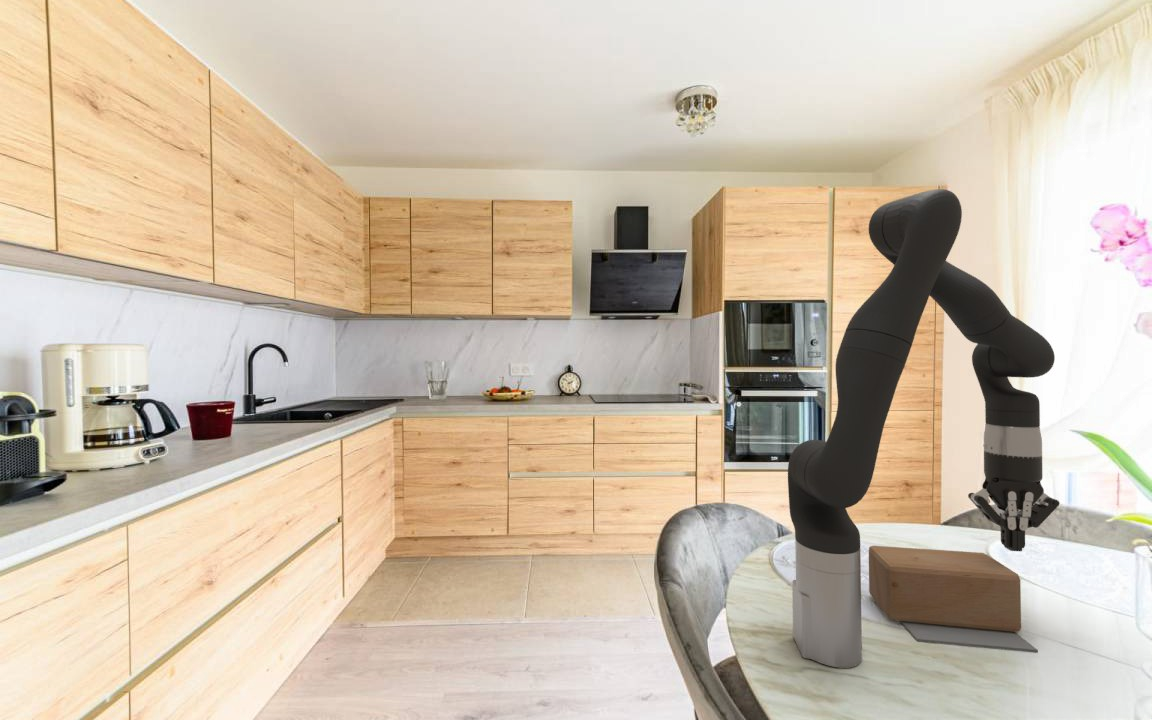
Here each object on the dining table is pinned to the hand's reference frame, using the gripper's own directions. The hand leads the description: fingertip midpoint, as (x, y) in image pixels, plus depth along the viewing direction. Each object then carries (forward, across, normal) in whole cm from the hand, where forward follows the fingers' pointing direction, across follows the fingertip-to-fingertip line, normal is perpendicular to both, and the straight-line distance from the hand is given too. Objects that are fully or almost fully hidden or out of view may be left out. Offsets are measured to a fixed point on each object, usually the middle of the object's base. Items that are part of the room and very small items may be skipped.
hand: (1013, 549), depth 82 cm
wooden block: (+8, -1, 0) cm, 8 cm away
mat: (+13, -11, 0) cm, 17 cm away
